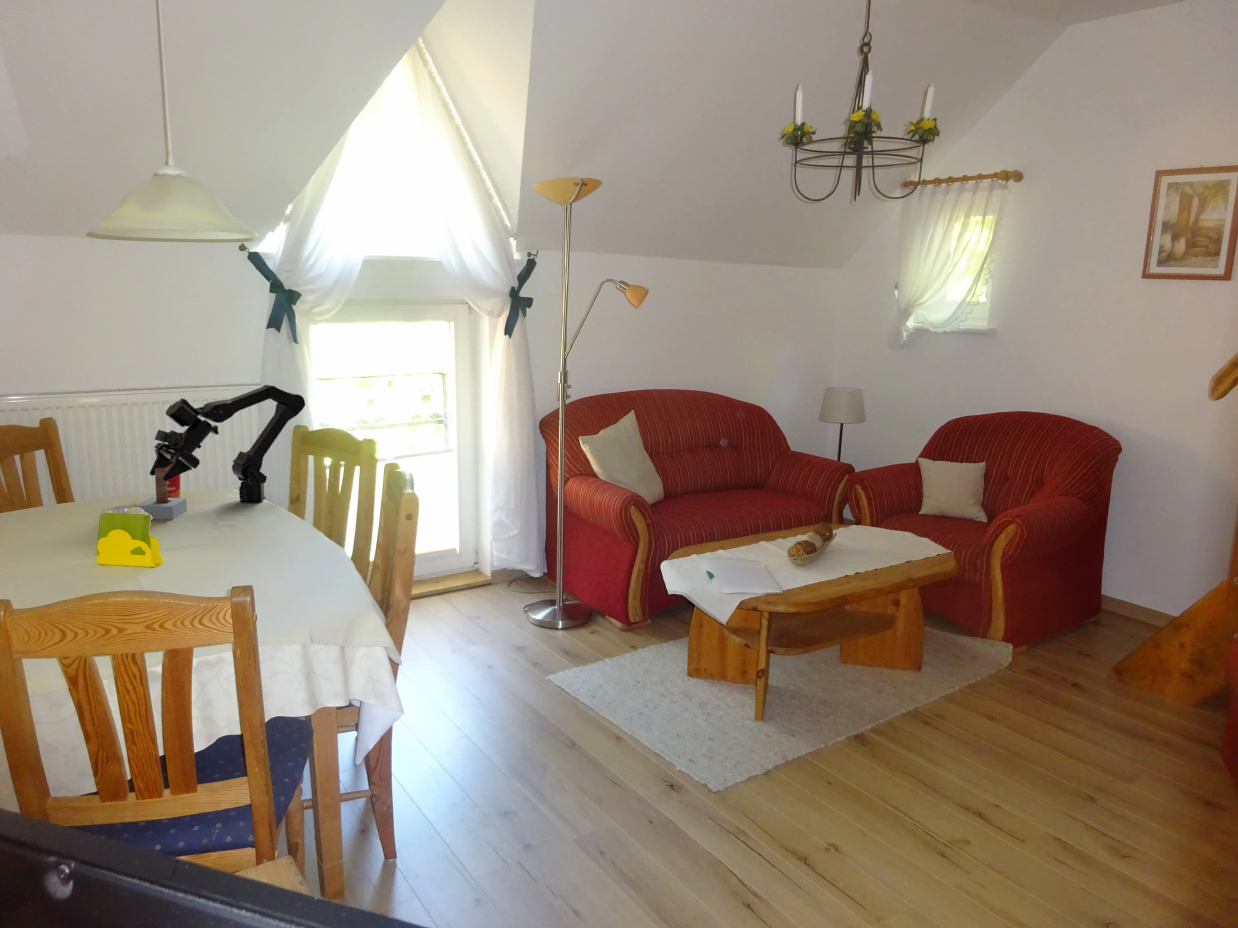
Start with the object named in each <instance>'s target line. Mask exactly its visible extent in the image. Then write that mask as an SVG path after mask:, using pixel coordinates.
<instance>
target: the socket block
mask: <svg viewBox="0 0 1238 928" xmlns="http://www.w3.org/2000/svg"><path fill="white" fill-rule="evenodd" d="M187 505H188V504H187V498H186V497H185V498H184V497H180V498H168V503H167V504H156V497H150V498H149V499H147V500H144V501H143V502H141V503H139V504H137V505H136V508H137V507H140V508H142V509H143V510H144V511H145V512H147V513H149V514H150V515H152V517H153V519H152V520H172V521H173V520H175V519H177V518H178V517H180V516H182V515H183V514H184V513H187V511H188V506H187Z"/></svg>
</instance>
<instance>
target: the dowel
mask: <svg viewBox="0 0 1238 928" xmlns="http://www.w3.org/2000/svg"><path fill="white" fill-rule="evenodd" d="M166 472H167V469H166V468H157V469H155V475H154V477H155V479H154V481H155V482H154V483H155V498H156V504H167V503H168V493H167V481H165V480H163V477H164V475H165V474H166Z"/></svg>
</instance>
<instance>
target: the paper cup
mask: <svg viewBox="0 0 1238 928" xmlns="http://www.w3.org/2000/svg"><path fill="white" fill-rule="evenodd" d="M155 460H156V457H155V458H154V461H153V463H154V462H155ZM171 465H172V464H171ZM171 465H169V466H168V467H166V469H167V471H168V469H169V468H170V466H171ZM167 493H168V498H181V474H179V475H177V476H175V477H173V478H171V479H169V480H167Z"/></svg>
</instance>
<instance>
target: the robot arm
mask: <svg viewBox="0 0 1238 928" xmlns="http://www.w3.org/2000/svg"><path fill="white" fill-rule="evenodd" d="M267 400H271V401H274V402H275V403H276V404H275V410H274V413H273V415H272V417H271V419H270V420H269V421H268V423H267V424H266V426H265V427H264V429H263V430H262V431H261V433H260V434H259V436H257V438H256V440H255V441H254V443H253V444H252V446H251V447H250V448H249V450H247V451H246V452H245V451H241V450H240V451H239V452H238V453H237V456H236V458H235V459H233V460H232V463H233V464H232V465H231V470H232V473H233V474H234V476H236V477H237V479H238V481H240V485H239V487H238V493H239V503H249V504H250V503H256V504H257V503H262V502H263V501H264V500H266V499H267V497H266V496H265V484H266V482H267V479H268V477H267V476H266V475H265V474H264V473H263V472H261V469H262V467H263V461H264V457H265V456H266V454H267V452H268V451H269V449H270V448H271V447H272V445H273V444H274V442H275V441H276V440H277V438H278V437H279V435H280V434H281V432H282V431H283V429H284V428H285V426H286V425H287V424H288V422H289V421H290V420H292V419H294V418H296V417H297V416H298V415H299V414H300V413H301V412H302V411H303V410H304V409H305V406H306V401H305V398H304V397H303V396H302V395H301V394H298V393H293V392H287V391H285V390H283V389H281V388H279V387H277V386H276V385H275V386H274V385H271V384H270V385H269V384H265V385H262V386H261V387H259V388H256V389H253V390H251V391H248V392H245V393H242V394H240V395H238V396H234V397H231V398H229V399H223V400H222V399H221V400H215V401H209V402H207V403H205V404H203V406H201V407H196V408H195V407H194V406H193V405H192V404H190V402H189V401H188V400H187V399H185V398H180V399H179V400H178V401H176V402H174V403H173V404H171V405H169V407H168V408H167V409H166V411H165V415H166V416H167V417H168V418H170V419H171V421H174V423H175V424H177V425H178V426H179V427H181V428H184V427H186V429H185V430H184V431H183V432H177V431H175V430H173V429H172V430H170V431H165V430H161V429H158V430H157V432H156V434H155V436H154V440H155V441H159V442H157V443H156V445H154V447H153V448H154V452H155V455H156V457H155V458H156V460H155V459H154V461H155V462H154V461H153V464H152V467H151V469H150V471H149V475H150V476H152V477H153V476H155V469H157V468H166V467H168V466H169V465H171V464H172V465H171V466H170V468H169V469H168V471H167V472H166V474H165V475H164V477H163V480H165V481H167V480H169V479H171V478H173V477H175V476H177V475H179V474H180V475H182V474H184V473H186V472H188V471H192V470H193V469H194V470H195V469H197V468H198V466H200V464H201V461H200V459H199V458H198V457H197V456H195V455H194V454H193V453H194V452H195V451H196V450H197V449H201V448H202V445H201V444H202V443H203V442H204V441H205V439H206V438H207V437H209V435H210V434H213V435H217V436H218V435H219V434H220V433H219V426H218V425H216V424H211V422H213V423H217V424H221V423H223V422H226V421H227V420H229V419H231V418H233V416H234V415H235V414H236V413H238V412H239V411H242V410H244V409H247V408H250V407H253V406H254V405H257V404H260V403H263V402H266V401H267ZM201 418H204V419H203V420H202V419H201ZM261 501H262V502H261Z"/></svg>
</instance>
